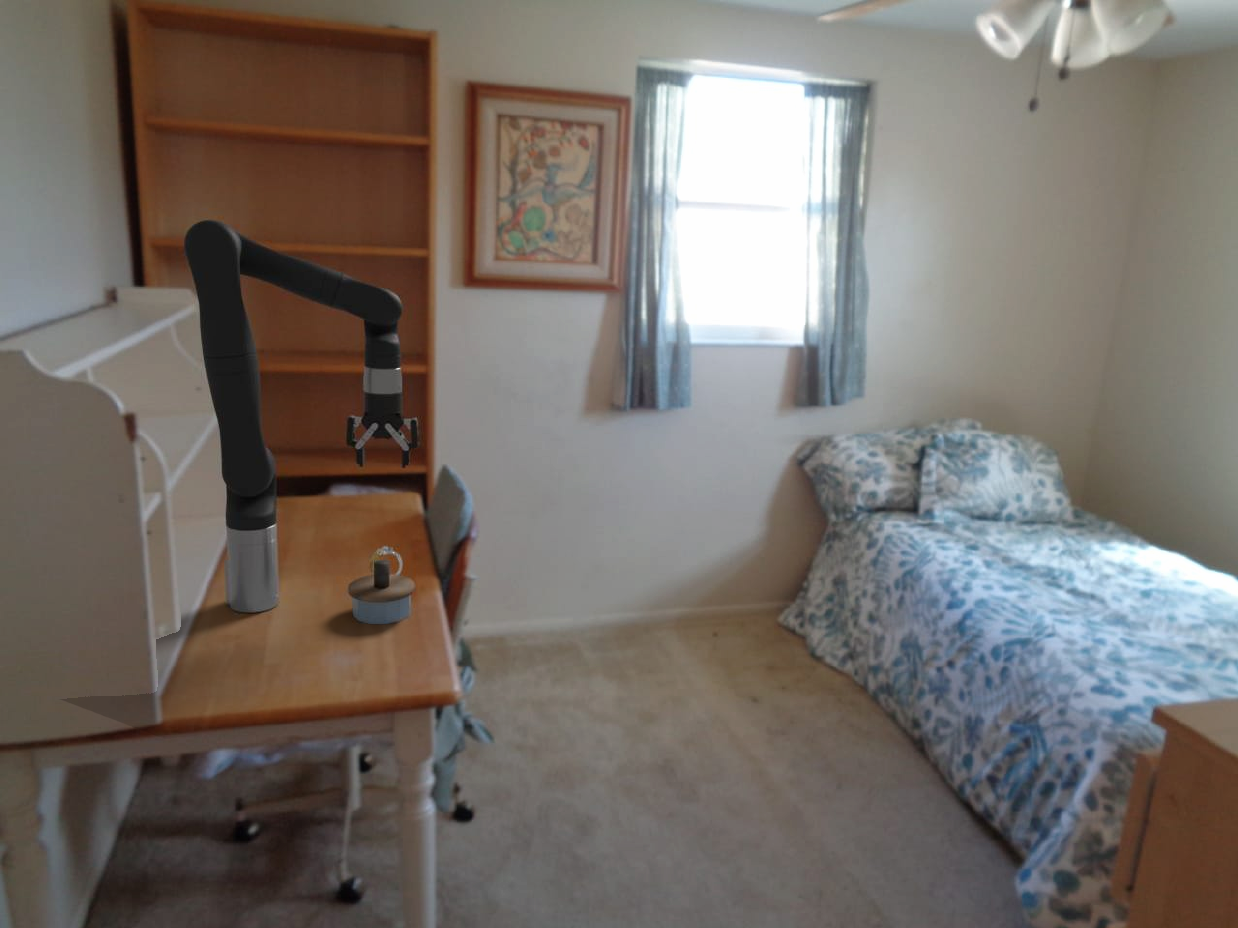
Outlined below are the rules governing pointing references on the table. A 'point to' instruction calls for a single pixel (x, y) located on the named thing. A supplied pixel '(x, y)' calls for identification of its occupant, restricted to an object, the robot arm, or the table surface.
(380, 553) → the ring
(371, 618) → the bowl
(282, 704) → the table surface
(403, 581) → the lid
